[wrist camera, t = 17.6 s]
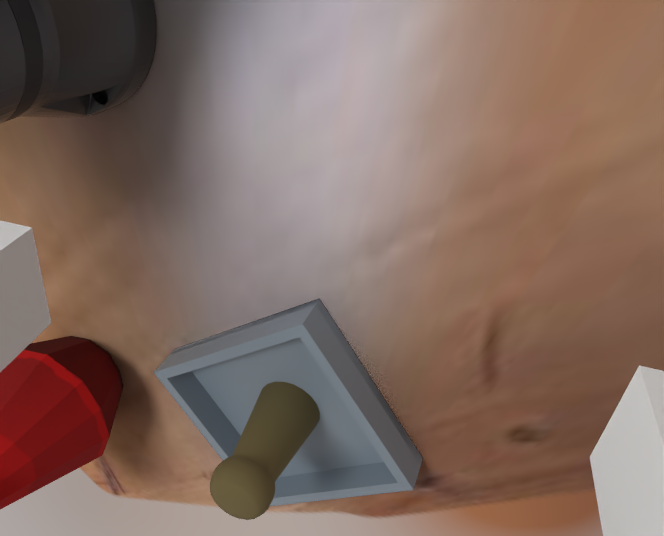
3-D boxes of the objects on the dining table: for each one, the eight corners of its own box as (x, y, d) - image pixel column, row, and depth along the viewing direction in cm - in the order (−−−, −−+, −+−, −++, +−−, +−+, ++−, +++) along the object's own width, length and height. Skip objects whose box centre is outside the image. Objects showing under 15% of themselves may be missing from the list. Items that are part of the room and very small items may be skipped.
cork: (324, 436, 55) (273, 539, 46) (266, 425, 57) (207, 521, 48) (315, 386, 52) (259, 487, 43) (254, 376, 54) (189, 470, 45)
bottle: (142, 440, 67) (6, 609, 52) (44, 392, 70) (-116, 539, 54) (147, 344, 58) (-19, 513, 42) (33, 292, 60) (-165, 434, 44)
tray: (274, 479, 62) (259, 507, 59) (174, 349, 57) (153, 372, 54) (422, 458, 53) (413, 489, 50) (319, 298, 47) (302, 323, 45)
